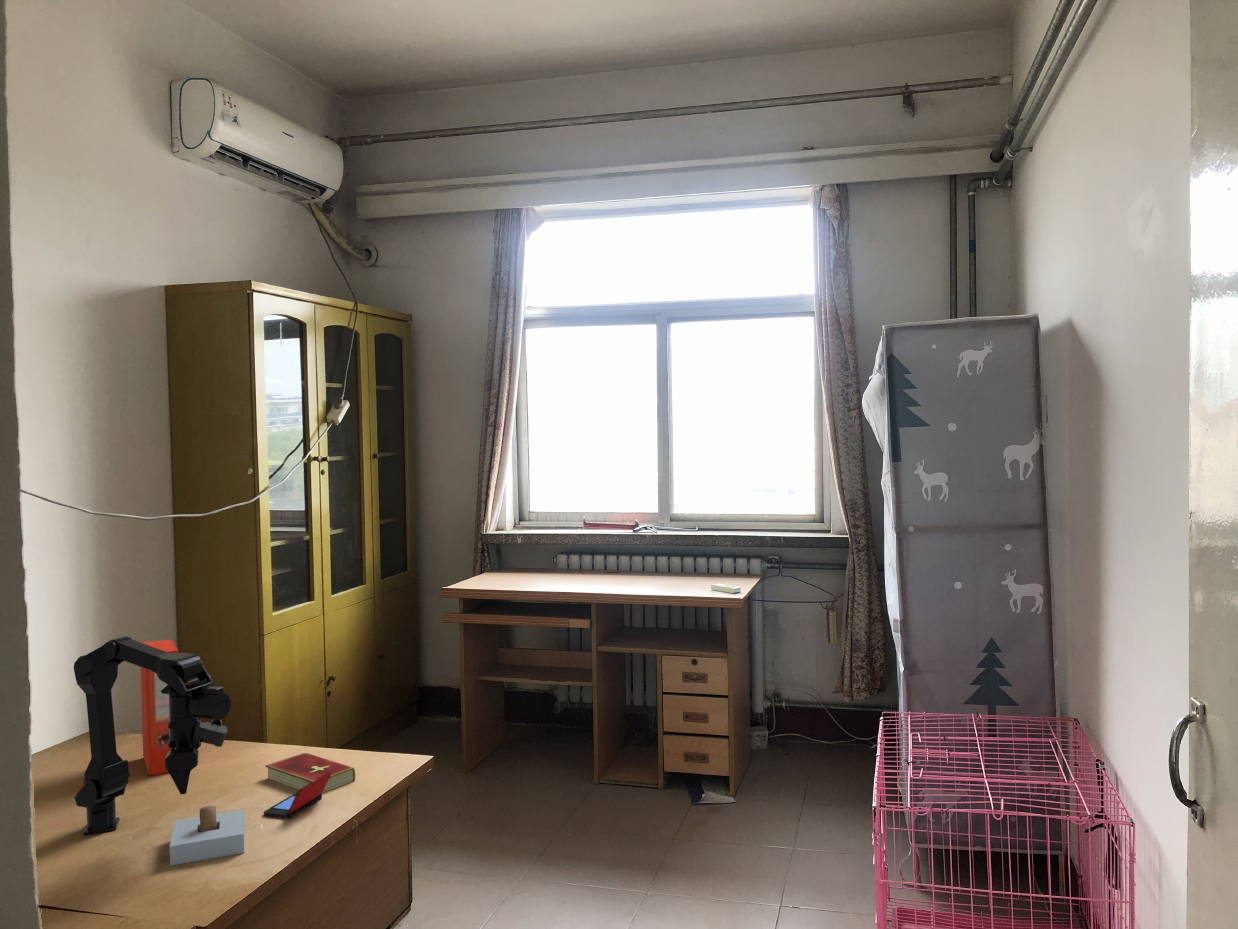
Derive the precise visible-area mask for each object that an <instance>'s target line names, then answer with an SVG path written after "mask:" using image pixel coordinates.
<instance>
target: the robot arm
mask: <svg viewBox="0 0 1238 929" xmlns="http://www.w3.org/2000/svg"><path fill="white" fill-rule="evenodd" d="M123 662H126V663H128V664H132V665H133V666H134V665H135V666H137V667H140V668H141V667H142V668H145V669H147V670H150V671H153V672H154V673H156V674H157V676H158V678H159V680H161V681H163V682H164V683H166V684H167V686H166V687H165V688H163V689H162V690H161V693H162V694H169V724H168V729H169V737H170V740H169V748H171V750H170V751H169V752H168V753H167V754H166V757H165V768H166V770H167V771H168V772H169V773H168V774H169V776H170V777H171V780H172V781H173V782H174V784H175V787H176V788H177V791H178V793H179V794H180V795H186V794H187V792H188V786H189V780H190V776H191V771H193V769H195V768H197V766H198V765H199V756H200V754H199V750H198V749H199V748H200V747H201V746H202V743H204V744H207V745H213V746H214V747H219V748H221V747H222V746H223V744H224V742H225V738H226V736H227V734H228V727H227V726H226V725H223V719H225V718H226V717H227V716H228V714H229V712H230V710H231V706H232V700H231V698H230V696H229V695H228V694H227V693H225V691H224V687H223V686H220V685H218V686H214V681H213V679H212V677H211V675H210V674H209V672H208V670H207V669H206V667H205V665H204V663H203V661H202V660H201V657H200V656H199V655H197V654H194V653H188V652H179V653H169V652H165V651H163V650H160V649H157V648H154V647H151V646H149V645H146V644H143V642H140V641H137V640H135V639H133V638H132V637H130V636H125V635H124V636H121V637H120V636H119V637H116V638H113V639H109V640H108V641H106V642H105V643H104V644H102V645H101V646H100V647H97V648H95V649H94V650H93V651H90V652H89V653H87V654H85V655H80V656H79V657H78V658H77V659H76V661H74V663H73V673H74V677H75V678H74V679H75V681H76V685H77V686H78V687H79V688H80V689H81V691H82V692H83V693H84V694H85V699H86V700H85V701H86V711H87V712H86V713H87V722H88V723H87V724H88V733H89V734H88V735H89V744H90V746H89V747H90V756H91V757H90V761H89V762H88V764H87V767H86V769H85V770H84V771H85V772H84V779H83V780H84V782H83V783H84V785H83V786H82V787H81V788H80V789H79V791H78V792H77V793H76V794H75V796H74V798H73V799H74V801H75V805H76V806H77V807H79V808H80V807H81V808H85V810H86V811H85V812H86V825H85V828H84V830H83V832H82V834H83V835H90V834H97V833H104V832H109V831H114V830H115V831H116V830H117V828H118V825H119V822H120V819H121V818H120V817H119V816H117V810H116V798H118V797H120V796H124V795H125V791H126V787H127V785H128V783H129V778H130V777H131V774H130V771H129V761H128V759H123V758H122V757H121V756H120V755H119V754H118V751H117V740H116V730H115V729H116V728H115V718H114V708H113V707H114V706H113V698H112V689H113V686H114V684H115V683H116V681H117V678H118V674H119V672H118V670H119V665H120V664H122V663H123ZM201 719H207V720H210V721H206V722H205V721H202V720H201Z"/></svg>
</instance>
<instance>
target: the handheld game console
mask: <svg viewBox="0 0 1238 929" xmlns="http://www.w3.org/2000/svg"><path fill="white" fill-rule="evenodd" d="M330 776H331V772H328V773H327V774H325V775H323V776H322V777H320V778H318V779H317V780H315V781H313V782H311V783H310V784H308V785H306V786H305V787H303V788H301V789H300V790H297V792H296V793H294V794H291V795H289V796H288V797H285V799H282V800H281V801H279V802H278V803H276V804H274V805H273V806H271V807H269V808H268V809H266V810H264V811H263V816H264V817H269V818H275V819H286V820H290V819H292V818H293V817H294V816H296V815H298V814H300V813H302V811H304V809H306V808H308V807H311V806H312V805H314V804H316V803H317V802H319V801H321V800H322V799H323V797H322V796H323V795H322V794H323V793H324V792H323V790H324V788H325V786H326V784H327V782H328V780H329V778H330ZM322 792H323V793H322Z"/></svg>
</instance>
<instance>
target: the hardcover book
mask: <svg viewBox="0 0 1238 929" xmlns="http://www.w3.org/2000/svg"><path fill="white" fill-rule="evenodd" d="M264 767H265V768H267V779H268V780H271V781H273V782H277V783H280V784H282V785H284V786H288V787H290V788H294V789H296V790H297V791H299V790H300V789H301V788H303V787H305V786H306V785H308V784H310V783H311V782H313V781H315V780H317V779H318V778H320V777H322V776H323V775H325V774H327V773H328V772H331V776H330V778H329V780H328V782H327V784H326V786H325V788H324V790H323V792H322V794H323V793H325V792H327V791H331V790H333V789H336V788H338V787H342V786H343V785H347V784H349V783H352V782H356V770H355V767H353V766H349V765H346V764H344V763H339V762H337V761H335V760H334V761H333V760H331V759H327V758H324V757H321V756H318V755H314V754H313V753H308V752H302V753H299V754H296V755H292V756H290V757H287V758H283V759H281V760H277V761H275V762H272V763H268V764H265V765H264Z"/></svg>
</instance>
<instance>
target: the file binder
mask: <svg viewBox="0 0 1238 929" xmlns="http://www.w3.org/2000/svg"><path fill="white" fill-rule="evenodd" d="M142 643H143V644H146V645H149V646H151V647H154V648H157V649H160V650H163V651H165V652H169V653H180V652H179V649H178V648H177V647H176V645H175V644H174V642H173V640H172V639H162V640H153V641H145V642H144V641H143V642H142ZM166 686H167V684H166V683H164V682H163V681H161V680H159V678H158V676H157V674H156V673H154V672H153V671H150V670H147V669H145V668H142V667H140V687H141V688H140V691H141V692H140V698H141V726H142V727H141V730H142V731H141V732H142V757H143V761H144V764H145V768H146V771H147V773H148V776H157V775H163V774H167V773H168V774H169V772H168V771H167V770H166V768H165V757H166V754H167V753H168V752H169V751H170V750H171V748H169V740H170V737H169V729H168V724H169V694H162V693H161V690H162V689H163V688H165V687H166Z"/></svg>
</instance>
